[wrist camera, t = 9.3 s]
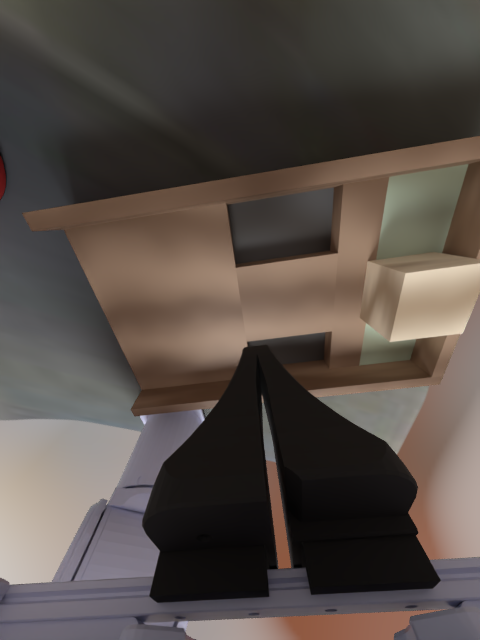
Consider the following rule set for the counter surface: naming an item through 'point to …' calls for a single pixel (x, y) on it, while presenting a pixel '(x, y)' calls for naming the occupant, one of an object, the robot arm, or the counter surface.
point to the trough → (273, 270)
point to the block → (420, 295)
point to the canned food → (2, 178)
